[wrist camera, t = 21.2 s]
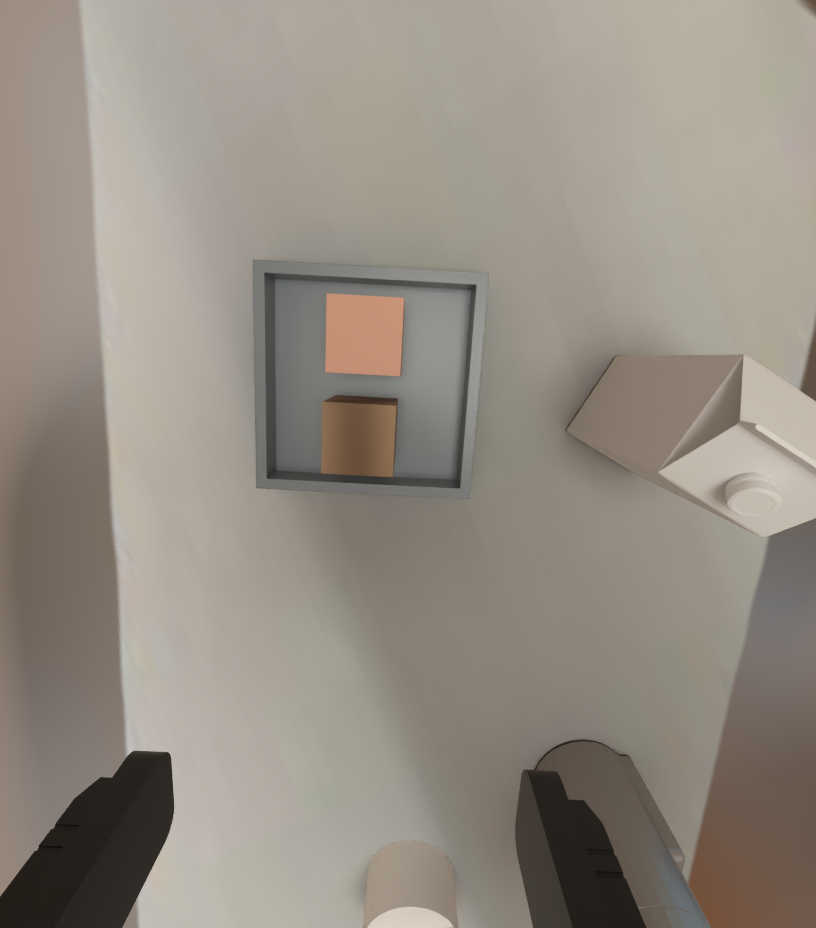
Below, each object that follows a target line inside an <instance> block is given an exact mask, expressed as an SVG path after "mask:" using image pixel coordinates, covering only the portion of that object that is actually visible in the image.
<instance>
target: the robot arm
mask: <svg viewBox="0 0 816 928" xmlns="http://www.w3.org/2000/svg"><path fill="white" fill-rule="evenodd" d="M173 814H174V796H173V781H172V766H171V756H170V754H169V753H168V752H150V751H133V752H131V753H130V754H129V755H128V756H127V758H126V759H125V761H124V762H123V763H122V765H121V766H120V767H119V769H118V770H117V772H116V773H115V775H114V776H113V777H112V778H103V777H101V778H99V779H98V780H97V781H95V782H94V783H93V784H92V785H91V786H89V787H88V788H87V789H86V790H84V792H82V793H81V794H80V795H78V796H77V797H76V798H75V799H74V800H73V801H72V803H71V804H70V805H69V807H68V808H67V809H66V811H65V812H64V813H63V815H62V816H61V817H60V819H59V820H58V821H57V822H56V824H55V828H54V829H51V830H50V832H49V833H48V834H47V836H46V837H45V838H44V840H43V841H42V842H41V844H40V845H39V848H38V850H37V851H35V852H34V853H33V854H32V855H31V857H30V858H29V859H28V861H27V862H26V863H25V865H24V866H23V867H22V869H21V870H20V871H19V873H18V874H17V875H16V877H15V878H14V879H13V881H12V882H11V883H10V885H9V886H8V887H7V888H6V890H5V891H4V892H3V894H2V895H1V896H0V928H122V927H123V925H124V923H125V921H126V918H127V917H128V915H129V913H130V911H131V909H132V907H133V905H134V903H135V901H136V899H137V897H138V895H139V893H140V891H141V889H142V887H143V885H144V883H145V881H146V879H147V877H148V875H149V873H150V871H151V869H152V867H153V865H154V863H155V861H156V859H157V857H158V855H159V853H160V851H161V849H162V847H163V845H164V843H165V841H166V839H167V836H168V834H169V831H170V827H171V824H172V819H173ZM515 837H516V848H517V855H518V860H519V865H520V869H521V874H522V878H523V883H524V888H525V892H526V897H527V901H528V906H529V910H530V915H531V919H532V924H533V928H711V927H710V925H709V923H708V921H707V919H706V917H705V915H704V914H703V912H702V910H701V908H700V906H699V904H698V903H697V900H696V899H695V897H694V895H693V893H692V891H691V889H690V887H689V885H688V884H687V882H686V880H685V878H684V876H683V874H682V870H683V866H684V861H685V858H684V854H683V851H682V849H681V848H680V846H679V844H678V842H677V840H676V839H675V837H674V835H673V833H672V832H671V830H670V828H669V826H668V824H667V823H666V821H665V819H664V817H663V815H662V814H661V812H660V810H659V808H658V806H657V805H656V803H655V801H654V799H653V797H652V796H651V794H650V792H649V790H648V788H647V787H646V785H645V783H644V781H643V780H642V778H641V776H640V774H639V772H638V771H637V769H636V767H635V765H634V763H633V762H632V760H631V758H630V757H629V756H620V755H618V754H617V753H615V752H614V751H613V750H611V749H610V748H608V747H606V746H604V745H602V744H599V743H595V742H587V741H579V742H571V743H568V744H565V745H562V746H560V747H558V748H556V749H554V750H552V751H551V752H550V753H549V754H547V755H546V756H545V757H544V758H543V759H542V761H541V762H540V763H539V765H538V767H537V769H536V770H523V772H522V776H521V784H520V792H519V799H518V807H517V815H516V824H515Z"/></svg>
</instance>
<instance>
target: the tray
mask: <svg viewBox="0 0 816 928" xmlns="http://www.w3.org/2000/svg"><path fill="white" fill-rule="evenodd" d="M488 279H489V273H477V272H459V271H442V270H425V269H407V268H390V267H372V266H355V265H338V264H320V263H303V262H285V261H268V260H253V310H254V372H255V434H256V488H263V489H282V490H302V491H321V492H340V493H360V494H379V495H398V496H418V497H437V498H456V499H470V490H471V478H472V466H473V455H474V443H475V431H476V419H477V408H478V396H479V384H480V373H481V361H482V349H483V338H484V326H485V314H486V303H487V291H488ZM327 293H330V294H348V295H366V296H383V297H401V298H404V304H405V312H404V332H403V352H402V372H401V376H385V375H367V374H349V373H331V372H325V362H326V299H327ZM335 395H344V396H362V397H380V398H398V409H397V429H396V449H395V463H394V471H393V477H378V476H360V475H341V474H322V473H321V457H322V402H323V401H325V400H327V399H329V398H331V397H333V396H335Z"/></svg>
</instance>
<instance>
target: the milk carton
mask: <svg viewBox="0 0 816 928" xmlns="http://www.w3.org/2000/svg"><path fill="white" fill-rule="evenodd" d="M566 431H567V432H568V433H570V434H571V435H573V436H574V437H576V438H577V439H579V440H581V441H582V442H584V443H586V444H587V445H589V446H590V447H592V448H594V449H595V450H597V451H599V452H600V453H602V454H603V455H605V456H607V457H608V458H610V459H612V460H613V461H615V462H616V463H618V464H620V465H621V466H623V467H625V468H626V469H628V470H630V471H631V472H633V473H635V474H637V475H639V476H641V477H643V478H645V479H647V480H649V481H651V482H653V483H655V484H657V485H659V486H661V487H663V488H665V489H667V490H669V491H671V492H673V493H675V494H677V495H679V496H681V497H682V498H684V499H686V500H688V501H690V502H692V503H694V504H696V505H698V506H700V507H702V508H704V509H706V510H708V511H710V512H712V513H714V514H716V515H718V516H720V517H722V518H724V519H726V520H728V521H730V522H732V523H734V524H736V525H738V526H740V527H742V528H744V529H746V530H748V531H750V532H752V533H754V534H756V535H758V536H762V537H767V536H769V535H772V534H775V533H777V532H780V531H783V530H785V529H788V528H790V527H793V526H796V525H798V524H801V523H803V522H806V521H809V520H811V519H814V518H816V401H814V400H812V399H811V398H810V397H808V396H806V395H805V394H804V393H802V392H801V391H799V390H798V389H796V388H795V387H793V386H792V385H790V384H789V383H787V382H786V381H784V380H783V379H781V378H780V377H778V376H777V375H775V374H774V373H772V372H771V371H769V370H768V369H766V368H765V367H763V366H762V365H760V364H759V363H757V362H756V361H754V360H753V359H751V358H750V357H748V356H747V355H745V354H743V355H665V356H616V357H615V359H614V360H613V362H612V363H611V365H610V366H609V367H608V369H607V370H606V372H605V373H604V375H603V376H602V378H601V379H600V381H599V382H598V384H597V385H596V387H595V388H594V390H593V391H592V393H591V394H590V396H589V397H588V399H587V400H586V402H585V403H584V405H583V406H582V408H581V409H580V411H579V412H578V414H577V415H576V417H575V418H574V420H573V421H572V422H571V424H570V425H569V427H568V428H567V430H566Z"/></svg>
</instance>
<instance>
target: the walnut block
mask: <svg viewBox="0 0 816 928" xmlns="http://www.w3.org/2000/svg"><path fill="white" fill-rule="evenodd" d="M397 409H398V398H380V397H362V396H344V395H335V396H333V397H331V398H329V399H327V400H325V401H323V402H322V457H321V473H322V474H341V475H360V476H378V477H393V471H394V463H395V449H396V429H397Z"/></svg>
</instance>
